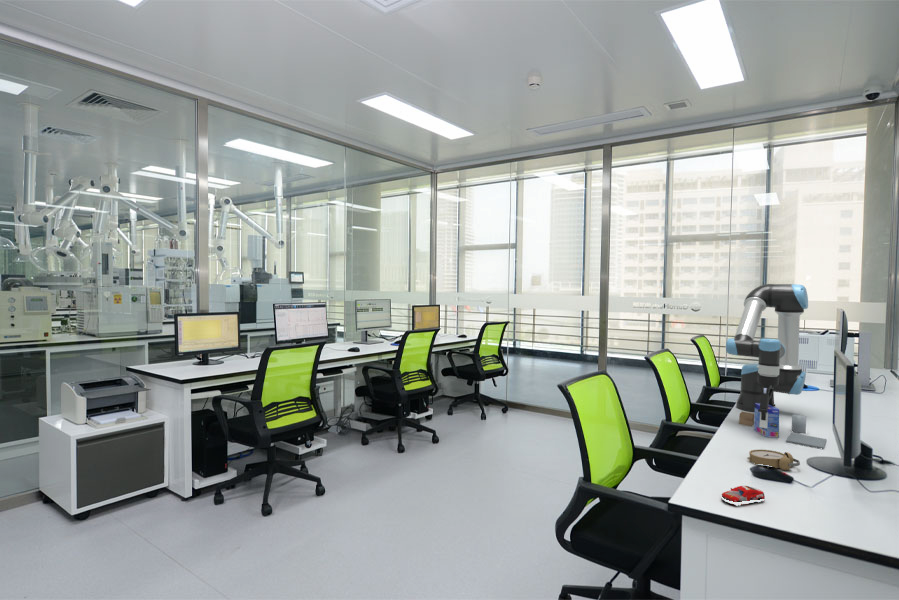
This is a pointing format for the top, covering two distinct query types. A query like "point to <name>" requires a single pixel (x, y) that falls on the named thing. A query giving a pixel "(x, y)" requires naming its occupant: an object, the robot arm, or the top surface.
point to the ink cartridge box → (773, 422)
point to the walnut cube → (746, 418)
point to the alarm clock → (773, 459)
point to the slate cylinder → (799, 423)
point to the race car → (743, 494)
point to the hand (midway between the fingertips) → (766, 424)
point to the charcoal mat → (806, 440)
